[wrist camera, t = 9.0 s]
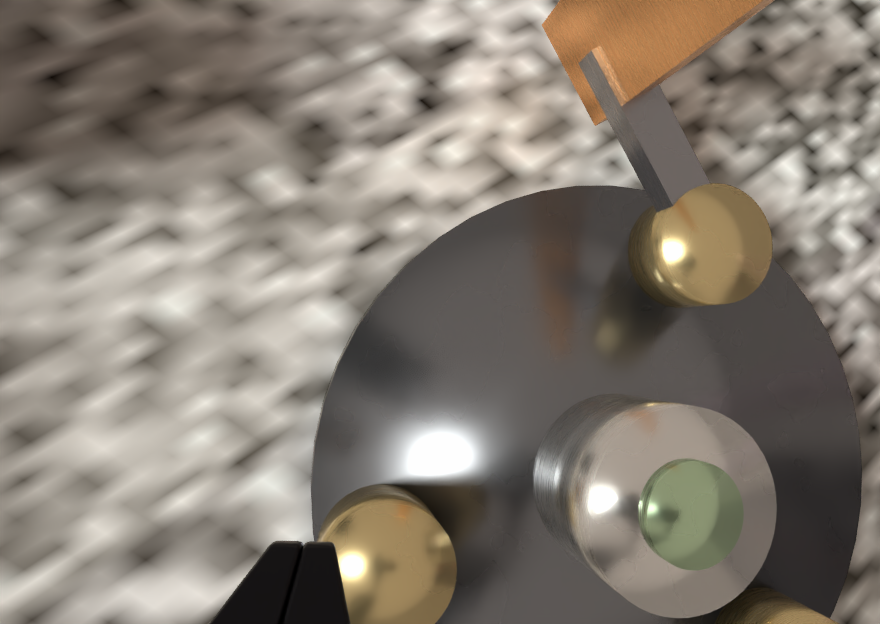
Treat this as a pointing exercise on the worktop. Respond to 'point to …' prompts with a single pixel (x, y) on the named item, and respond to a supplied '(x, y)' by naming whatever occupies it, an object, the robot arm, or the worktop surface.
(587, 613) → the tribrach plate
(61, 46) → the worktop surface
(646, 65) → the lever
